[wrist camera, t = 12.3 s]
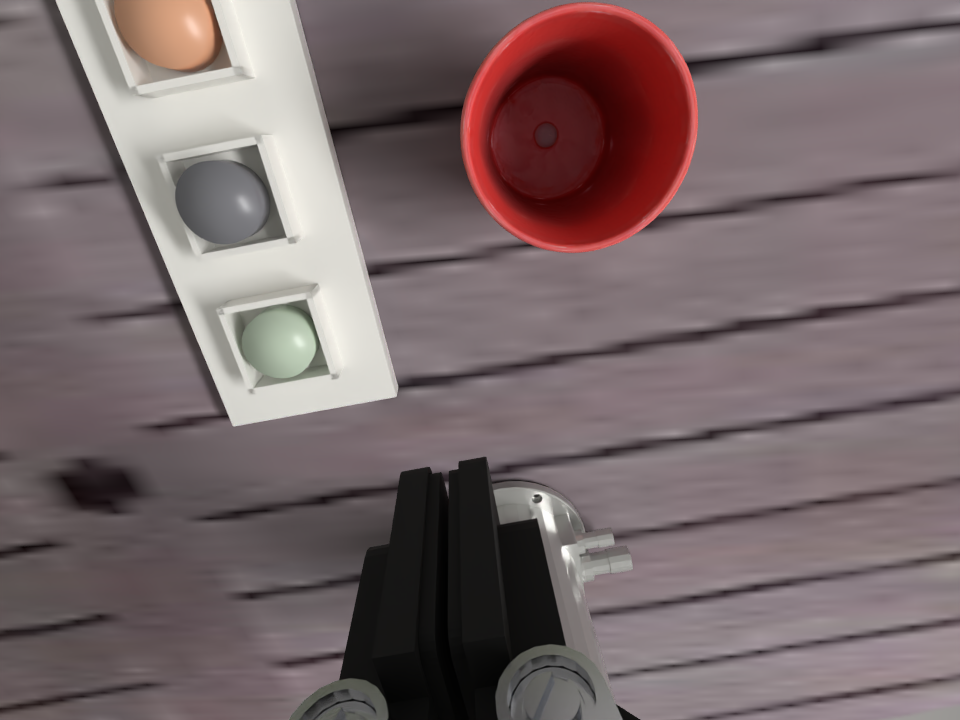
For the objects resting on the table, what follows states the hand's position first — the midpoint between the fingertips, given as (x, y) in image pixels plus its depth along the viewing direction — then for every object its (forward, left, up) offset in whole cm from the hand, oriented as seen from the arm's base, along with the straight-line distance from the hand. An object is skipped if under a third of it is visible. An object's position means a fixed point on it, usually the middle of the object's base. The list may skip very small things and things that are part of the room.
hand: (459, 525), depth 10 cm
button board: (+12, -6, -27) cm, 30 cm away
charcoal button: (+12, -6, -24) cm, 28 cm away
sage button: (+12, +3, -25) cm, 28 cm away
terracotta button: (+12, -15, -25) cm, 32 cm away
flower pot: (-7, -6, -27) cm, 29 cm away
